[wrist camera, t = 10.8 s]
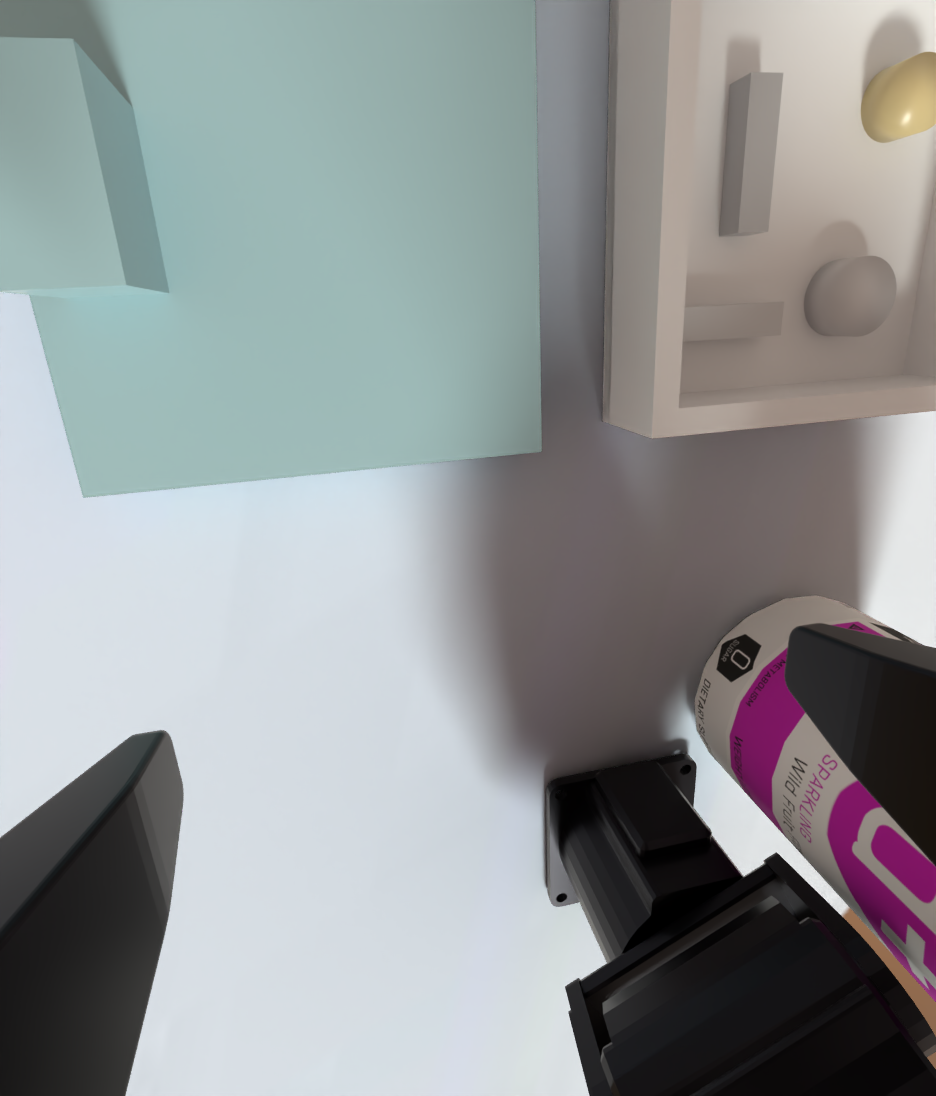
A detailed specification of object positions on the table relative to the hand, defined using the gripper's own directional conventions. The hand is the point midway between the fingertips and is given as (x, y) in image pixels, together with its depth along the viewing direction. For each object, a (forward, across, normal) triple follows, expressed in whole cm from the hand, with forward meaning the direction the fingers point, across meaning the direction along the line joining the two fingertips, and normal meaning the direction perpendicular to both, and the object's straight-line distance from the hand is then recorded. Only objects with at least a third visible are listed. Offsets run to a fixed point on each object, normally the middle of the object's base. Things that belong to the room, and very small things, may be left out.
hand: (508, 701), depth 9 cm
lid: (+12, +2, -8) cm, 15 cm away
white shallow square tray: (+13, -13, -8) cm, 20 cm away
